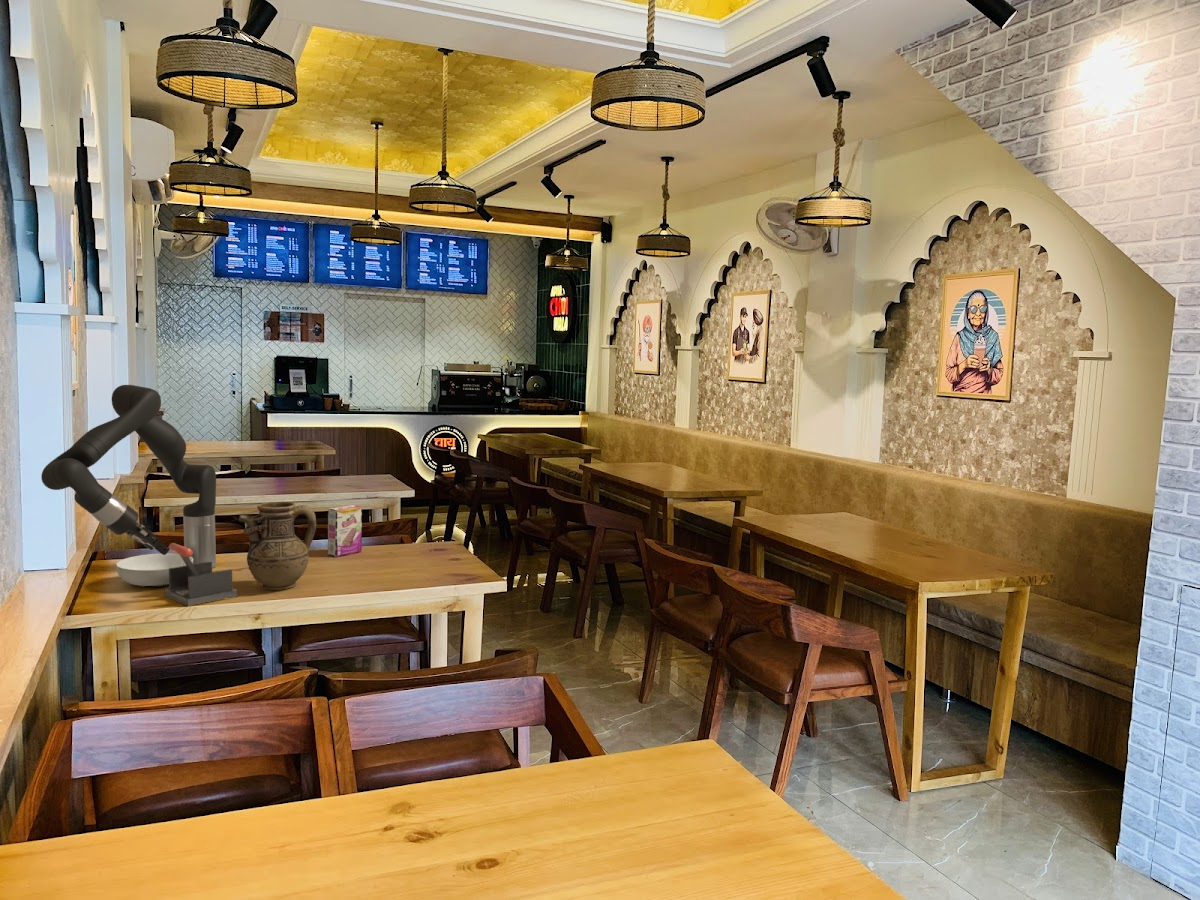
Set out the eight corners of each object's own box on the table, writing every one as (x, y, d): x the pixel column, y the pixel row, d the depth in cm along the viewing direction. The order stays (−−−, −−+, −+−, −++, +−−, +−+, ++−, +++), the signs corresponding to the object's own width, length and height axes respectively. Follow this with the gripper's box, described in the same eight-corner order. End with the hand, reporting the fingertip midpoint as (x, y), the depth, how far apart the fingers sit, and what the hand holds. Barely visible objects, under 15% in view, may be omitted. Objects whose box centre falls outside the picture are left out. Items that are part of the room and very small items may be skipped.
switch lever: (206, 589, 254) (182, 552, 248) (190, 583, 260) (166, 546, 254) (213, 584, 255) (189, 546, 249) (197, 577, 262) (174, 541, 256)
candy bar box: (336, 557, 308) (336, 510, 306) (327, 555, 311) (326, 508, 309) (362, 552, 317) (362, 506, 315) (353, 550, 320) (353, 504, 318)
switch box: (188, 606, 248) (187, 578, 247) (164, 595, 258) (163, 568, 257) (237, 596, 258) (236, 569, 257) (213, 587, 268) (212, 560, 267)
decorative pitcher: (315, 577, 282) (313, 498, 279) (319, 591, 265) (318, 507, 263) (240, 582, 274) (238, 500, 271) (240, 597, 258) (238, 511, 255)
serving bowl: (113, 595, 257) (112, 571, 257) (119, 577, 277) (119, 555, 276) (193, 589, 266) (192, 566, 265) (194, 572, 285) (193, 551, 284)
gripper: (135, 506, 235) (181, 543, 245) (114, 499, 245) (159, 535, 255) (114, 528, 232) (161, 565, 242) (93, 521, 241) (140, 556, 251)
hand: (160, 549), depth 248 cm, fingers open, 8 cm apart
